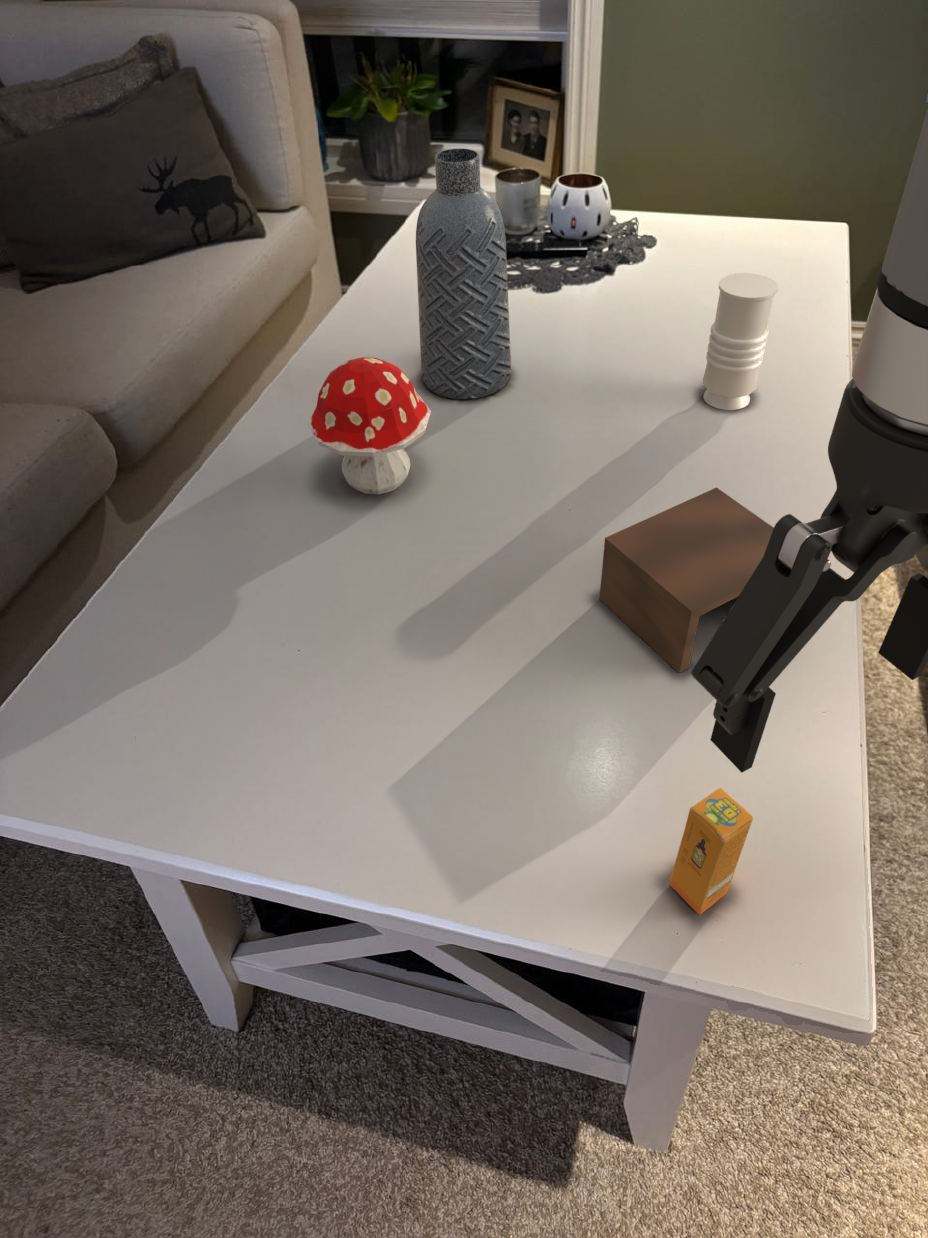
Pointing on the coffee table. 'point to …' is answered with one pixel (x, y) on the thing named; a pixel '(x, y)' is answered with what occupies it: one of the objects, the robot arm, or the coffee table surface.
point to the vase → (462, 283)
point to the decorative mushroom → (369, 422)
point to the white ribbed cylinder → (738, 339)
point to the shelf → (681, 569)
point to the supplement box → (710, 850)
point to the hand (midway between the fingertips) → (818, 707)
